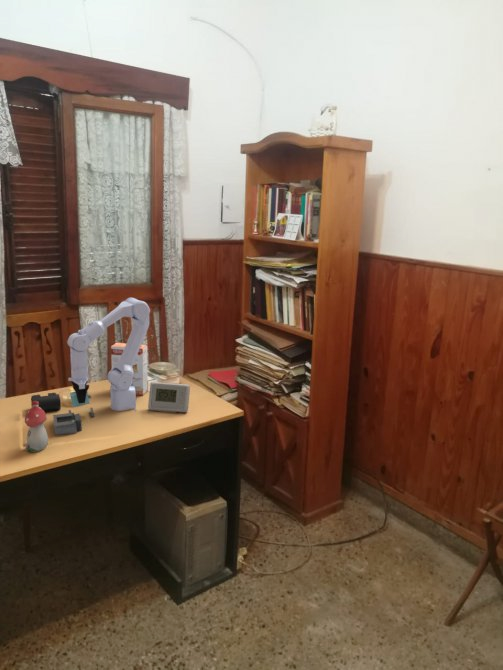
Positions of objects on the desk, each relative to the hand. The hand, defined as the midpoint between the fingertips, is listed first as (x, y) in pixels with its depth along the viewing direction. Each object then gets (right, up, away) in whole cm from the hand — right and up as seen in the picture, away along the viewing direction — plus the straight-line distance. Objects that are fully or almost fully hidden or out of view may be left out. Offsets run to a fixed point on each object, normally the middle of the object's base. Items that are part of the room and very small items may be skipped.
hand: (81, 400), depth 193 cm
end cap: (-15, -5, +6) cm, 17 cm away
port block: (-2, -9, -10) cm, 14 cm away
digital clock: (+31, -5, +13) cm, 34 cm away
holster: (0, -7, +2) cm, 7 cm away
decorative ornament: (-7, -13, -22) cm, 27 cm away
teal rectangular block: (0, -1, 0) cm, 1 cm away
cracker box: (+11, 0, +30) cm, 32 cm away
